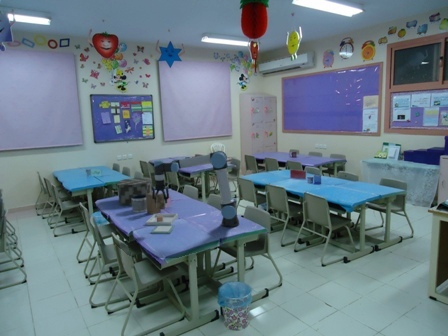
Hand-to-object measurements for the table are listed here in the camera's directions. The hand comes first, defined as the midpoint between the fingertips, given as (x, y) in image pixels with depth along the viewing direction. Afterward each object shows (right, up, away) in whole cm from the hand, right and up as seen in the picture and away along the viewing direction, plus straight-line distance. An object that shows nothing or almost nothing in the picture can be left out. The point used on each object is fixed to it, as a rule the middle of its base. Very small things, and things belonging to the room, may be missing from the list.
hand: (161, 207), depth 267 cm
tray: (-4, -16, +26) cm, 31 cm away
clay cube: (-5, -16, +19) cm, 26 cm away
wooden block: (-17, -12, +52) cm, 56 cm away
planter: (-33, -11, +62) cm, 72 cm away
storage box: (-47, -6, +100) cm, 111 cm away
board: (+1, -20, +3) cm, 20 cm away
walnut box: (0, -1, 0) cm, 1 cm away
